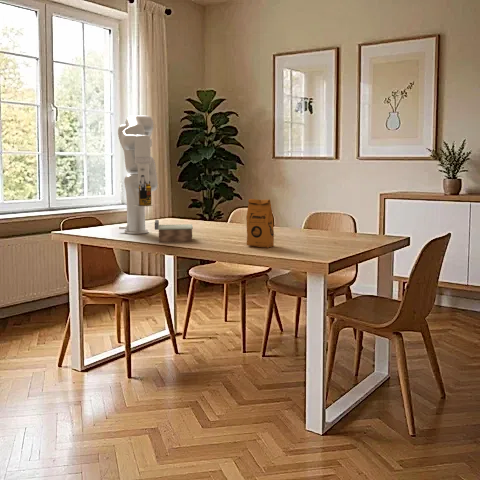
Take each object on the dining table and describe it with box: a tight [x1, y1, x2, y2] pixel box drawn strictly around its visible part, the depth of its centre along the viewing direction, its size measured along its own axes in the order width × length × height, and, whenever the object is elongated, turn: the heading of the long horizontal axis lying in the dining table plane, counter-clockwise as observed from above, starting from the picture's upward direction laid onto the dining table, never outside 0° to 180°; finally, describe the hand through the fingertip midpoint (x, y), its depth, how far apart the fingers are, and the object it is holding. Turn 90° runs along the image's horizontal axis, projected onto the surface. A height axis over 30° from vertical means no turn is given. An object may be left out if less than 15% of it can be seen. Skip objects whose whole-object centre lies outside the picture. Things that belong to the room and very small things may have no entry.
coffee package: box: [245, 198, 275, 249], centre depth 287 cm, size 10×12×22 cm
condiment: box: [133, 181, 153, 207], centre depth 304 cm, size 7×8×12 cm
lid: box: [154, 219, 193, 231], centre depth 307 cm, size 18×12×3 cm
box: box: [158, 229, 193, 243], centre depth 308 cm, size 16×12×6 cm
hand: (143, 197), depth 304 cm, fingers closed on condiment, 6 cm apart
